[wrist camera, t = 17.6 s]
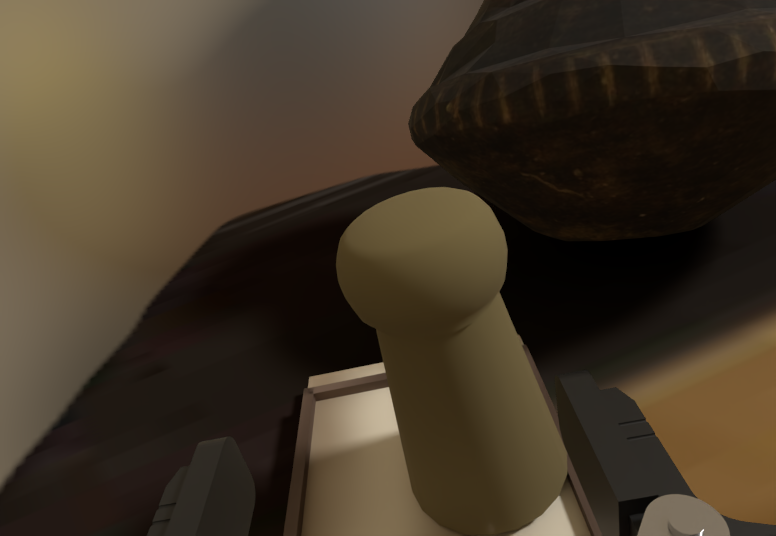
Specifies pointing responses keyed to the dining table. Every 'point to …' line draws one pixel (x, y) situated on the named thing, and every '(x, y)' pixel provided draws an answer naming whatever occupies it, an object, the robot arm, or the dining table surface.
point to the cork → (453, 359)
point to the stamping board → (384, 467)
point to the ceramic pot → (608, 112)
